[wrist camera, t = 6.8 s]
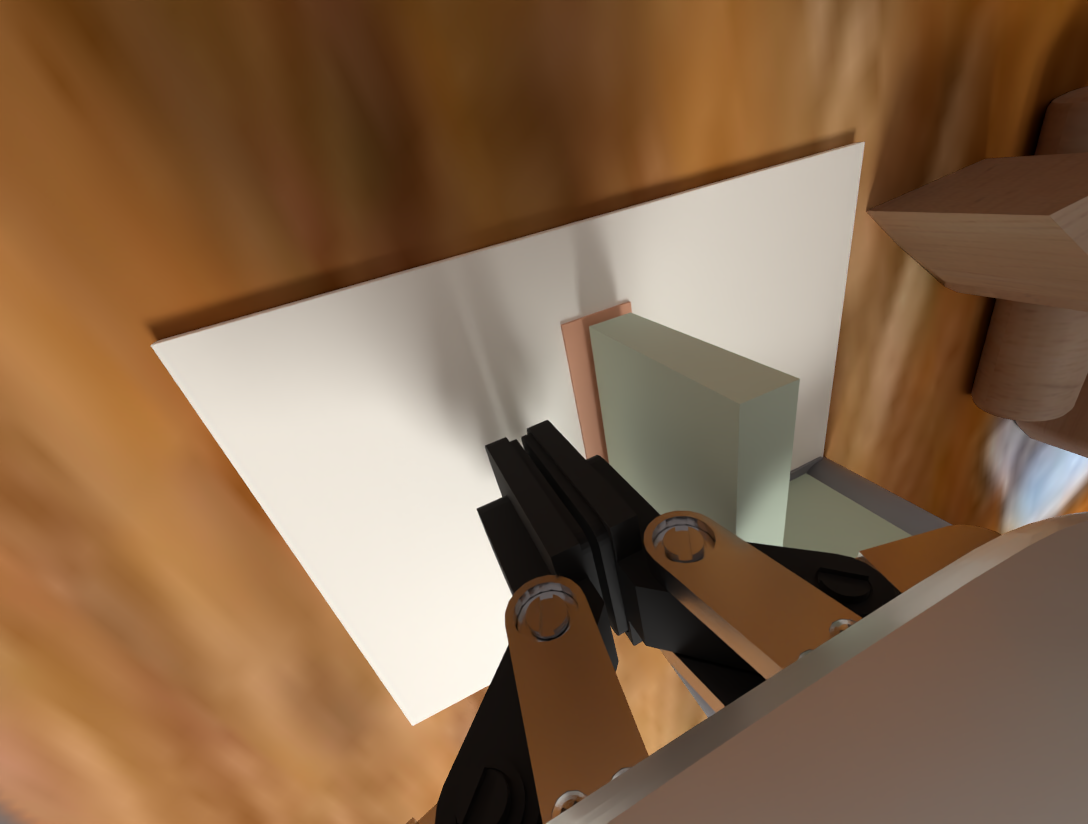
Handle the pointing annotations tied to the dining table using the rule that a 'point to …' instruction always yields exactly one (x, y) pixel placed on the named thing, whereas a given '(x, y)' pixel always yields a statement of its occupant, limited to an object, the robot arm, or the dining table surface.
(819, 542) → the fixed fence panel
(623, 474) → the hinged fence panel
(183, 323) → the dining table surface
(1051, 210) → the wooden block set
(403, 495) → the card
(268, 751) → the dining table surface
